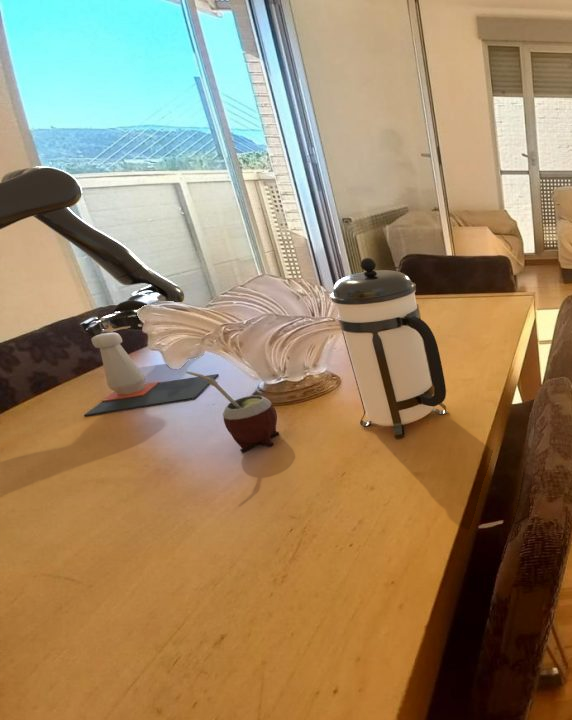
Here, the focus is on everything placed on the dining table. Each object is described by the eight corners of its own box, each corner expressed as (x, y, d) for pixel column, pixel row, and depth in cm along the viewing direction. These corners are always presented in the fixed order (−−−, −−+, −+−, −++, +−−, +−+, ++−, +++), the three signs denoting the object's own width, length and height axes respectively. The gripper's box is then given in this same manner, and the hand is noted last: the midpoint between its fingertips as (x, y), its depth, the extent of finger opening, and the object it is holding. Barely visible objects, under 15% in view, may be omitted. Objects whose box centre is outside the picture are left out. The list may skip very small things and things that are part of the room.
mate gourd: (293, 436, 84) (266, 358, 78) (247, 460, 77) (213, 377, 71) (266, 428, 87) (237, 353, 81) (219, 452, 80) (184, 371, 74)
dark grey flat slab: (84, 416, 94) (83, 413, 93) (121, 389, 105) (120, 387, 105) (195, 399, 99) (194, 396, 99) (218, 375, 110) (217, 373, 110)
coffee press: (347, 449, 79) (293, 272, 68) (373, 405, 94) (333, 253, 82) (454, 435, 82) (420, 263, 71) (463, 394, 97) (437, 246, 85)
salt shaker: (105, 395, 101) (76, 338, 96) (136, 383, 106) (110, 329, 101) (125, 397, 99) (97, 339, 94) (156, 385, 105) (130, 330, 100)
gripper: (93, 301, 112) (64, 318, 99) (171, 292, 119) (153, 306, 106) (108, 331, 115) (81, 351, 102) (183, 320, 122) (167, 338, 109)
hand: (118, 328), depth 104 cm, fingers open, 8 cm apart
